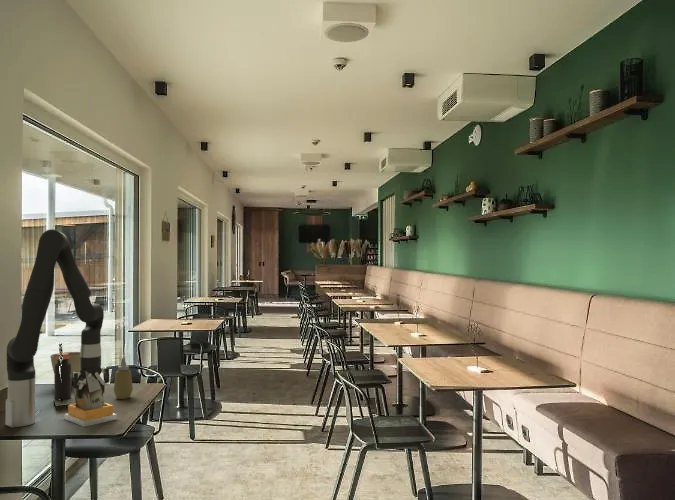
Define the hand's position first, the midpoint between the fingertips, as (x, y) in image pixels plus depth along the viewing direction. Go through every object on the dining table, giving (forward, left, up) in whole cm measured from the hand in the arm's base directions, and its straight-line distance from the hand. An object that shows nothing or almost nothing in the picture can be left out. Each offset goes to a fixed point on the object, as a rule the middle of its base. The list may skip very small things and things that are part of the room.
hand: (90, 396), depth 225 cm
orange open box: (0, 0, -9) cm, 9 cm away
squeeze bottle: (+26, +22, -9) cm, 35 cm away
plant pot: (+20, +64, -9) cm, 68 cm away
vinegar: (+8, +42, -9) cm, 44 cm away
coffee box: (0, 0, -6) cm, 6 cm away
